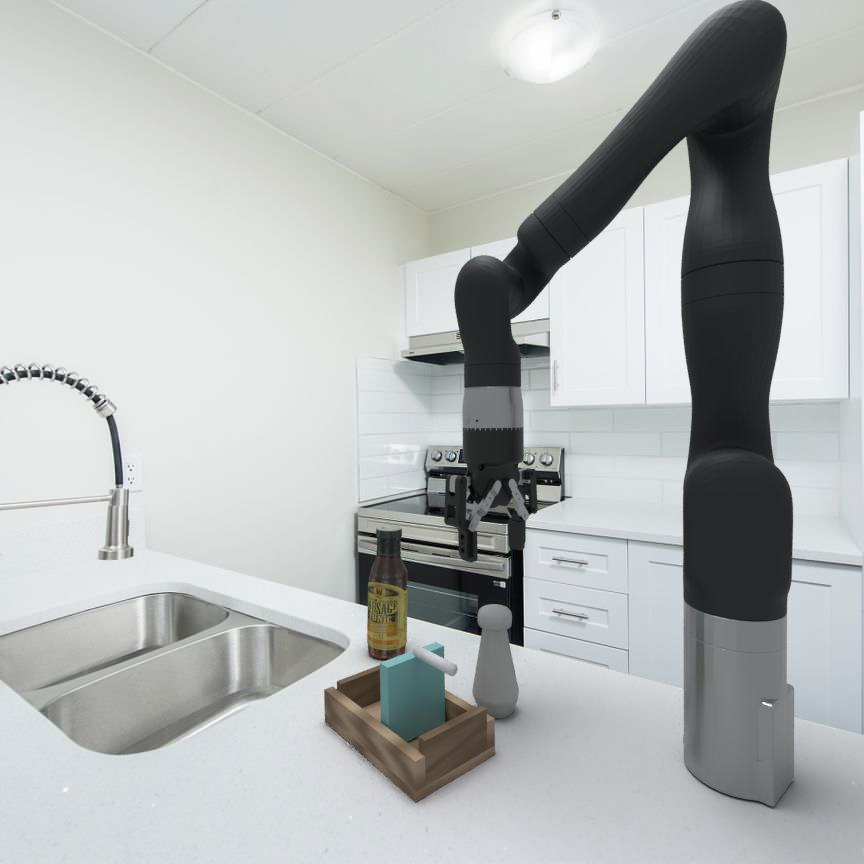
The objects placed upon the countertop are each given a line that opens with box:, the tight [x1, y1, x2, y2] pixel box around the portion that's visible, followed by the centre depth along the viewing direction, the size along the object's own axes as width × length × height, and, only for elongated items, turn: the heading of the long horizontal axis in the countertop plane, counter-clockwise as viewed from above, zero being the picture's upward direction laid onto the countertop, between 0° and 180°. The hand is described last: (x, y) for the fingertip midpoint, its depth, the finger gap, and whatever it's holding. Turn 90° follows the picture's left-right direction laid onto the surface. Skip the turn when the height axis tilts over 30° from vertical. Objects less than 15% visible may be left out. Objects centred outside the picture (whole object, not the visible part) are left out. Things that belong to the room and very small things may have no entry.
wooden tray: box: [323, 664, 496, 803], centre depth 61 cm, size 18×11×6 cm, turn 40°
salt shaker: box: [471, 603, 520, 720], centre depth 67 cm, size 6×6×13 cm
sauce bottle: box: [366, 524, 409, 660], centre depth 83 cm, size 7×6×20 cm
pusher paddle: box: [379, 642, 459, 742], centre depth 58 cm, size 8×8×10 cm
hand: (493, 554), depth 66 cm, fingers open, 8 cm apart
